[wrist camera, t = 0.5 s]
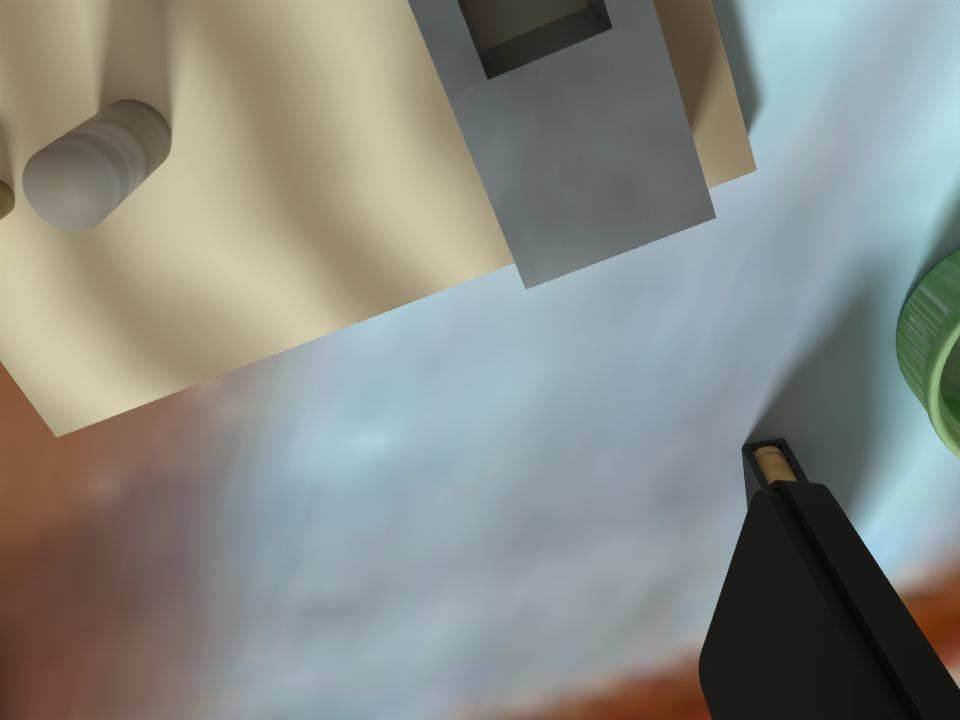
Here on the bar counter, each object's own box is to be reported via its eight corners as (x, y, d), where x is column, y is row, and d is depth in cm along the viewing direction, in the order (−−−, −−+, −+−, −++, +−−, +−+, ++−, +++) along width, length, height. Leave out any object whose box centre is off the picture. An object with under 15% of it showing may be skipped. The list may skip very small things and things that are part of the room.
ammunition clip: (741, 445, 39) (849, 653, 29) (784, 436, 39) (909, 643, 28) (759, 628, 44) (857, 865, 33) (797, 621, 44) (909, 857, 33)
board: (580, -440, 26) (630, -564, 18) (740, 154, 33) (818, 228, 26) (-239, -32, 30) (-456, -6, 23) (75, 411, 37) (-13, 534, 30)
